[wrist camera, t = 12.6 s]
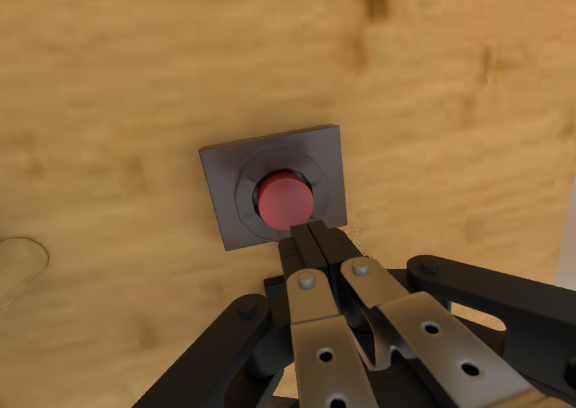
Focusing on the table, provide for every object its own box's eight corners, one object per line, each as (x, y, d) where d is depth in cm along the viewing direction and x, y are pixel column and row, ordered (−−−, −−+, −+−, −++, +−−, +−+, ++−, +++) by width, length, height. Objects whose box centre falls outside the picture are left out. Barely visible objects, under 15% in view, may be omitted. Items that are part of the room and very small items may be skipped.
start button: (262, 225, 20) (264, 236, 18) (252, 177, 18) (253, 184, 17) (310, 215, 20) (317, 224, 18) (304, 167, 19) (310, 173, 17)
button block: (226, 241, 23) (224, 264, 20) (201, 146, 20) (194, 154, 17) (340, 217, 24) (356, 235, 21) (331, 123, 21) (348, 127, 18)
